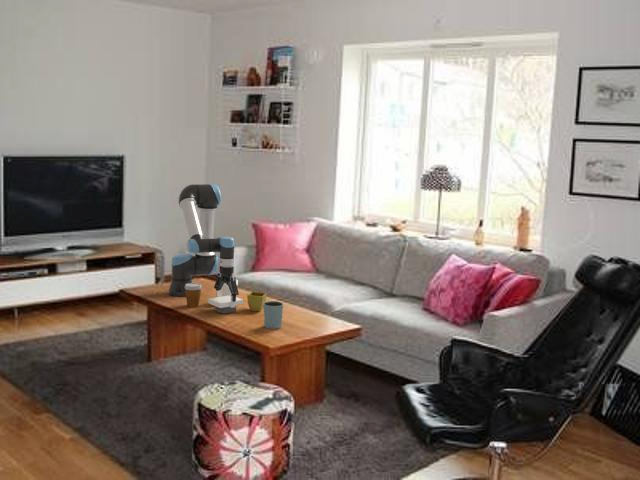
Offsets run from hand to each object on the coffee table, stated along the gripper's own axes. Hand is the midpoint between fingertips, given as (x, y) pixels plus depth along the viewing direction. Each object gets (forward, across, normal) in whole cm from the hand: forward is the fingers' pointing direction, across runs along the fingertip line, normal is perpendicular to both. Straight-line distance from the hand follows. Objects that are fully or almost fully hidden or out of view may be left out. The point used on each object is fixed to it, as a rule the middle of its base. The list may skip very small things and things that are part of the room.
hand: (225, 304), depth 392 cm
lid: (0, 0, 0) cm, 1 cm away
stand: (+4, 0, 0) cm, 4 cm away
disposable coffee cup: (+4, -18, -9) cm, 21 cm away
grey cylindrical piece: (+4, +37, +4) cm, 38 cm away
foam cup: (+4, -14, +12) cm, 19 cm away
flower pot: (+4, +7, +16) cm, 17 cm away
